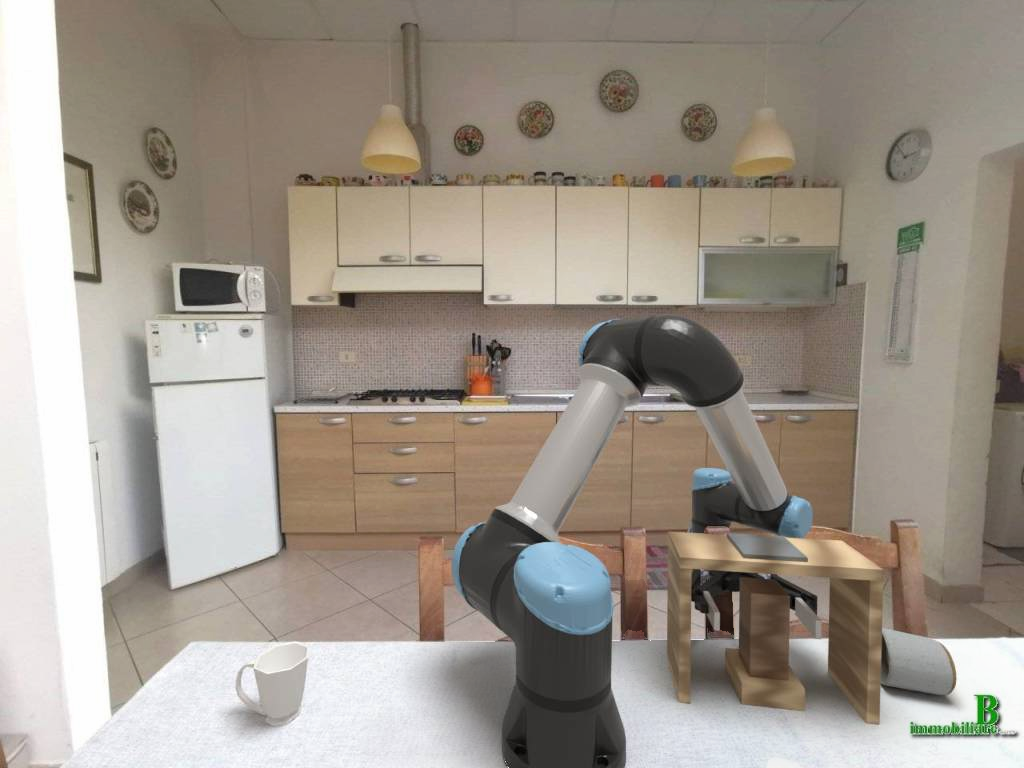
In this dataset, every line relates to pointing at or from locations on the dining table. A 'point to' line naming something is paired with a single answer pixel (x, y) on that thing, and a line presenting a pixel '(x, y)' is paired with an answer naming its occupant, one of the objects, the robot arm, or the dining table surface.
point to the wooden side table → (848, 570)
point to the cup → (278, 682)
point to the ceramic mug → (916, 663)
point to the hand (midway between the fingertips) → (767, 625)
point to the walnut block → (764, 628)
